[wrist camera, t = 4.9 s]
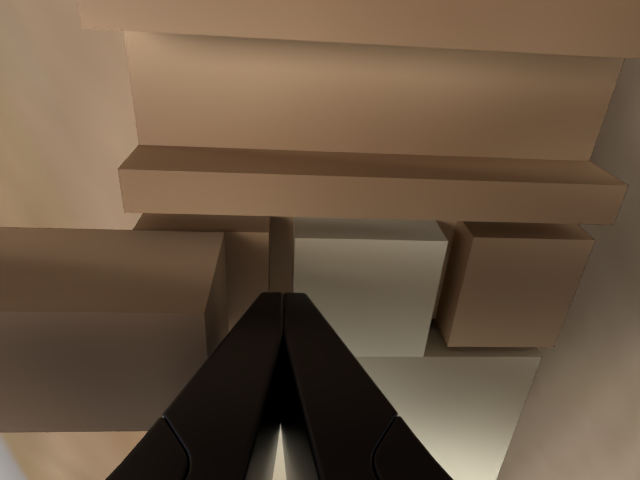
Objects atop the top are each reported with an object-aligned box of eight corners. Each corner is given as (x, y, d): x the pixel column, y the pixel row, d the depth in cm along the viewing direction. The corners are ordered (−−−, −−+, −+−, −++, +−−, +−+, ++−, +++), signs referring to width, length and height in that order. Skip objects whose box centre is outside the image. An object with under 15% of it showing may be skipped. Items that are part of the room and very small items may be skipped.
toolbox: (405, 491, 23) (446, 669, 17) (217, 495, 22) (192, 681, 17) (527, -29, 12) (743, -30, 7) (176, -53, 12) (63, -79, 6)
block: (228, 333, 10) (213, 430, 8) (-26, 332, 10) (-114, 433, 7) (223, 232, 9) (204, 313, 7) (-65, 225, 8) (-183, 310, 6)
